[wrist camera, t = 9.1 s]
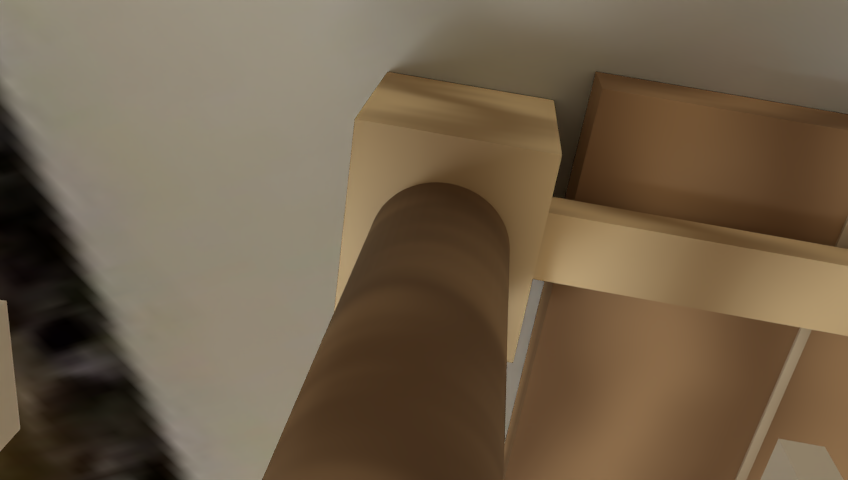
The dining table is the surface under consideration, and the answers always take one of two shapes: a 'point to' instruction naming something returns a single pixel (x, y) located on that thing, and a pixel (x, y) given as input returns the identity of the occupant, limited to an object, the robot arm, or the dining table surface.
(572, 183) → the board
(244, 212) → the dining table surface
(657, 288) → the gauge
